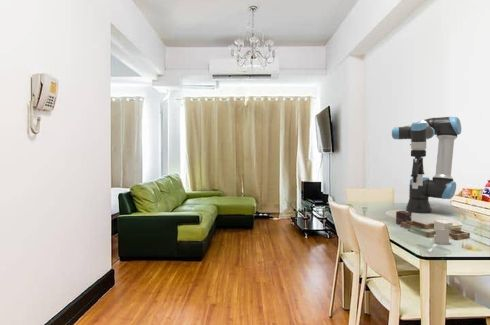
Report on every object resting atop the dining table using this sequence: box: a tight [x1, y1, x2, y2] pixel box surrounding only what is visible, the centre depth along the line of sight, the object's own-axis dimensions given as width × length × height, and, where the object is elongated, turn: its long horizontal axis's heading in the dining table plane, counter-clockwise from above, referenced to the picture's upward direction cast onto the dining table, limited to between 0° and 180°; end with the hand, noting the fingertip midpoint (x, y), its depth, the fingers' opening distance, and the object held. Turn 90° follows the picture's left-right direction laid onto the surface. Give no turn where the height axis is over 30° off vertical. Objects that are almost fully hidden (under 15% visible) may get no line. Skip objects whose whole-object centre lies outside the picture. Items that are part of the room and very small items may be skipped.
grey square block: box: [433, 229, 453, 245], centre depth 150 cm, size 3×7×7 cm, turn 72°
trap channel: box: [399, 220, 471, 241], centre depth 168 cm, size 23×28×2 cm
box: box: [395, 210, 413, 225], centre depth 184 cm, size 6×6×7 cm
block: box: [433, 219, 454, 232], centre depth 170 cm, size 6×6×5 cm
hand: (417, 187), depth 178 cm, fingers open, 13 cm apart
